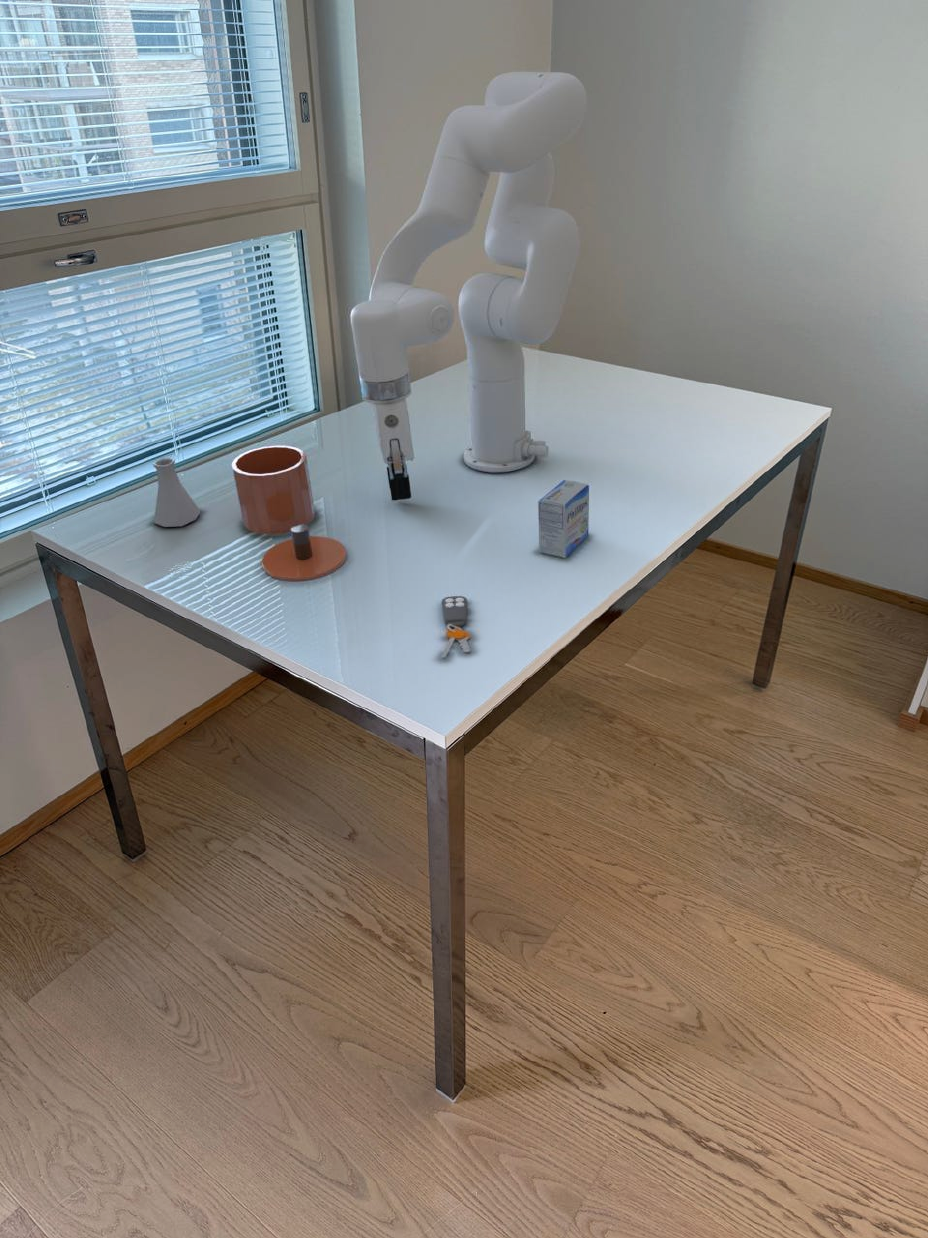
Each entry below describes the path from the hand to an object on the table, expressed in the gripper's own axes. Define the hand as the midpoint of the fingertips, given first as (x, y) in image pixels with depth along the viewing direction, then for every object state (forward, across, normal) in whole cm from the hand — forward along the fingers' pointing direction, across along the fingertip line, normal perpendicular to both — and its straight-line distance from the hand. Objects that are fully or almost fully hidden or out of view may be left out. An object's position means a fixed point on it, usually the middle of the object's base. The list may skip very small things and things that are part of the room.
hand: (400, 492), depth 154 cm
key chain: (+1, -39, -4) cm, 39 cm away
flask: (+1, +4, +37) cm, 37 cm away
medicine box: (+2, -20, -22) cm, 30 cm away
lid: (0, -16, +16) cm, 23 cm away
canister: (+1, -1, +20) cm, 20 cm away
